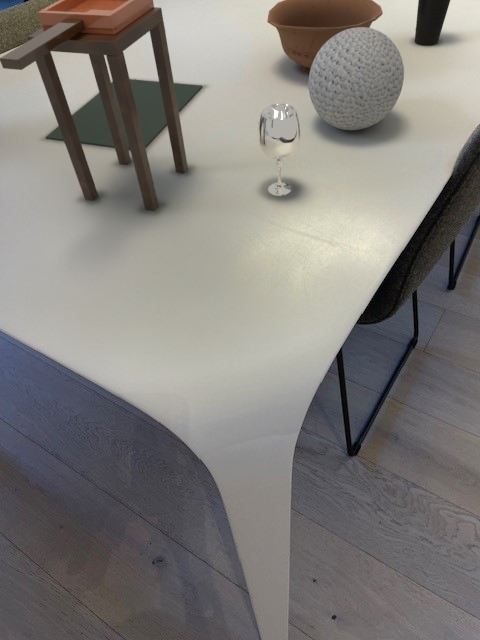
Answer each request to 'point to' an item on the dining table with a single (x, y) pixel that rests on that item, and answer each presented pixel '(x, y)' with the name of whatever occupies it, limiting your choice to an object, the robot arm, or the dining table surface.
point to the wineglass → (279, 138)
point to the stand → (114, 50)
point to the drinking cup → (430, 21)
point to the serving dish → (75, 25)
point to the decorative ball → (356, 78)
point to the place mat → (95, 123)
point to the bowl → (317, 24)
